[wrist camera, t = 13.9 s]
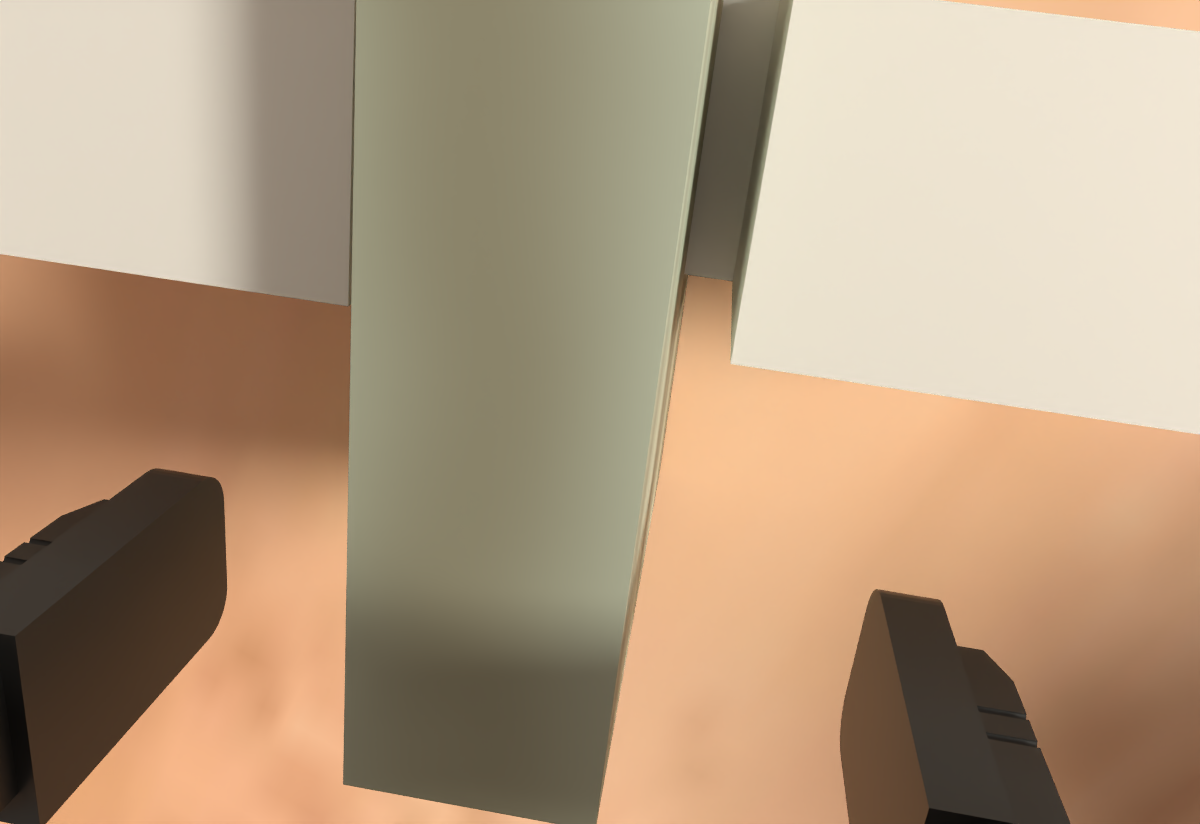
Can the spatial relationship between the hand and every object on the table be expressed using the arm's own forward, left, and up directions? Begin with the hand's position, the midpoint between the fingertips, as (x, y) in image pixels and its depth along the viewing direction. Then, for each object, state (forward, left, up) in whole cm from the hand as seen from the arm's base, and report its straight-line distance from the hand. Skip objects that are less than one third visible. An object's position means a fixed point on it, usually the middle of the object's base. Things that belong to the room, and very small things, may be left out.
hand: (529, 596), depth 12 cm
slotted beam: (0, -5, -9) cm, 10 cm away
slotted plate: (0, -5, -9) cm, 10 cm away
